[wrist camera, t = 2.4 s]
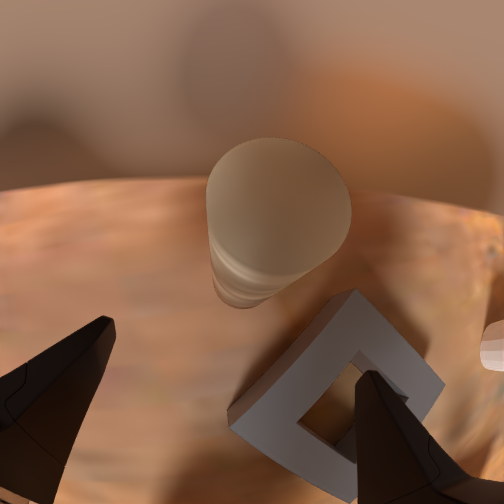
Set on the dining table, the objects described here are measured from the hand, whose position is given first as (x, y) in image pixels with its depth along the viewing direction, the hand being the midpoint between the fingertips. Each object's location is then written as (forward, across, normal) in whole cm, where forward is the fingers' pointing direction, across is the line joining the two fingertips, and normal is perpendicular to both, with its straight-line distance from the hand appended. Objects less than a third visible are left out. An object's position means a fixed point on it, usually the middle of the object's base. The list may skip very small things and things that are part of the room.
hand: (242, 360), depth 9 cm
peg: (+11, 0, +5) cm, 12 cm away
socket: (+6, -9, +10) cm, 15 cm away
